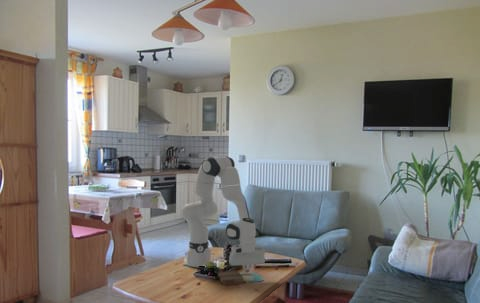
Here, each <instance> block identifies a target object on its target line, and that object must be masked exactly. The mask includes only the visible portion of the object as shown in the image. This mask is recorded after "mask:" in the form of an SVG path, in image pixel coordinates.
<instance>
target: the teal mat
mask: <svg viewBox="0 0 480 303" xmlns="http://www.w3.org/2000/svg"><path fill="white" fill-rule="evenodd" d="M250 273H251V274H252V275H253V277H254V280H253V281H244V282H245V283H255V282H256V283H257V282H263V281H264V279H263V278H262V277H261V276H260V275H259V274H258V273H257V272H255V273H252V272H250Z"/></svg>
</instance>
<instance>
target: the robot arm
mask: <svg viewBox="0 0 480 303" xmlns="http://www.w3.org/2000/svg"><path fill="white" fill-rule="evenodd" d="M235 166H236V164H235V161H234V159H233V158H232V157H231V156H230V157H229V156H221V155H218V156H212V157H211V156H208V157H206V158H204V159H203V160H202V163H201V165H200V167H199V169H198V172H197V175H196V181H195V186H194V193H195V195H197V197H198V200H197V201H196V202H190V203H187V204H184V205H183V206H182V207H181V212H180V213H181V216H182V219H183V220H185V221H186V222H187V224H188V227H189V241H188V242H189V243H188V249H187V251H185V252H184V255H185V256H184V260H183V262H182V264H183V266H187V267H191V268H192V267H193V268H200V267H199V266H202V265H203V264H205V263H206V262H211V261H213V260H212V253H211V252H212V251H211V249H210V248H209V229H208V228H207V226H205V225H204V223H203V220H205V219H210V218H211V217H214V216H215V215H217V212H218V206H217V204H216V202H215V201H214V199H213V191H214V186H215V185H214V184H215V179H216V177H217V176H218V177H219V179H220V184H221V194H222V196H223V198H224V199H225V200H227V201H228V202H231V203H233V204H234V205H235V206H236V208H237V213H238V217H239V218H238V219H239V220H238V221H235V222H230V223H228V224H227V225H226V227H225V234H226V237H227V238H228V239H229V240H233V241H235V240H237V241H239V243H237V244H235V245H232V246H231V248H230V249H231V250H230V252H229V258H228V264H229V265H230V266H231V267H233V266H237V267H238V266H242V269H243V272H244V273H247V272H250V273H251V269H252V266H253V265H263V264H265V262H266V257H265V253H266V249H265V248H264V247H262V246H256V233H257V232H256V223H255V220H254V219H252V218H250V213H249V209H248V205H247V204H248V203H247V200H246V197H245V195H244V193H243V191H242V188H241V181H240V175H239V171H238V169H237V168H236V167H235ZM247 265H248V267H247V268H246V266H247Z"/></svg>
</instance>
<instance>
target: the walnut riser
mask: <svg viewBox="0 0 480 303" xmlns="http://www.w3.org/2000/svg"><path fill="white" fill-rule="evenodd" d="M220 272H221V273H219V276H220V279H219V280H220V283H221V284H222V285H223V286H230V285H232V286H233V285H243V284H244V281H243V278H242V277H241V276H240V274H239V271H237V270H228V271H220Z"/></svg>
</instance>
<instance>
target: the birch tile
mask: <svg viewBox="0 0 480 303" xmlns="http://www.w3.org/2000/svg"><path fill="white" fill-rule="evenodd" d="M238 273H239V274H240V276H241V277H242V278H243V282H245V281H253V280H254V277H253V275H252V274H251V273H252V272H251V271H250V272H247V273H244V271H238Z"/></svg>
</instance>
